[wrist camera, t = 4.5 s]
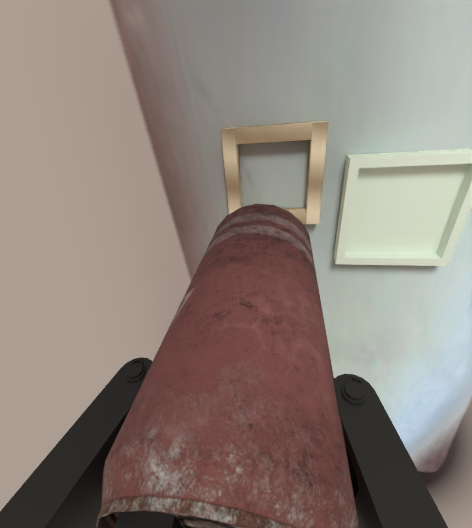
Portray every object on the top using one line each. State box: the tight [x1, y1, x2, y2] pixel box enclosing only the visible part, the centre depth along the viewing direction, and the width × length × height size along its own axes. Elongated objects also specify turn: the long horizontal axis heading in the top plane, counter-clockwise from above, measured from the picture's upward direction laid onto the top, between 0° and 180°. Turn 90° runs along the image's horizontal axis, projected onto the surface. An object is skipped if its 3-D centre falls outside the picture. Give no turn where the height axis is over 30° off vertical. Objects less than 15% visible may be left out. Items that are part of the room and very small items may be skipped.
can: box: [96, 204, 359, 528], centre depth 12 cm, size 6×6×14 cm
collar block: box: [221, 121, 328, 224], centre depth 32 cm, size 18×11×3 cm, turn 5°
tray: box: [333, 148, 472, 266], centre depth 31 cm, size 13×13×2 cm
